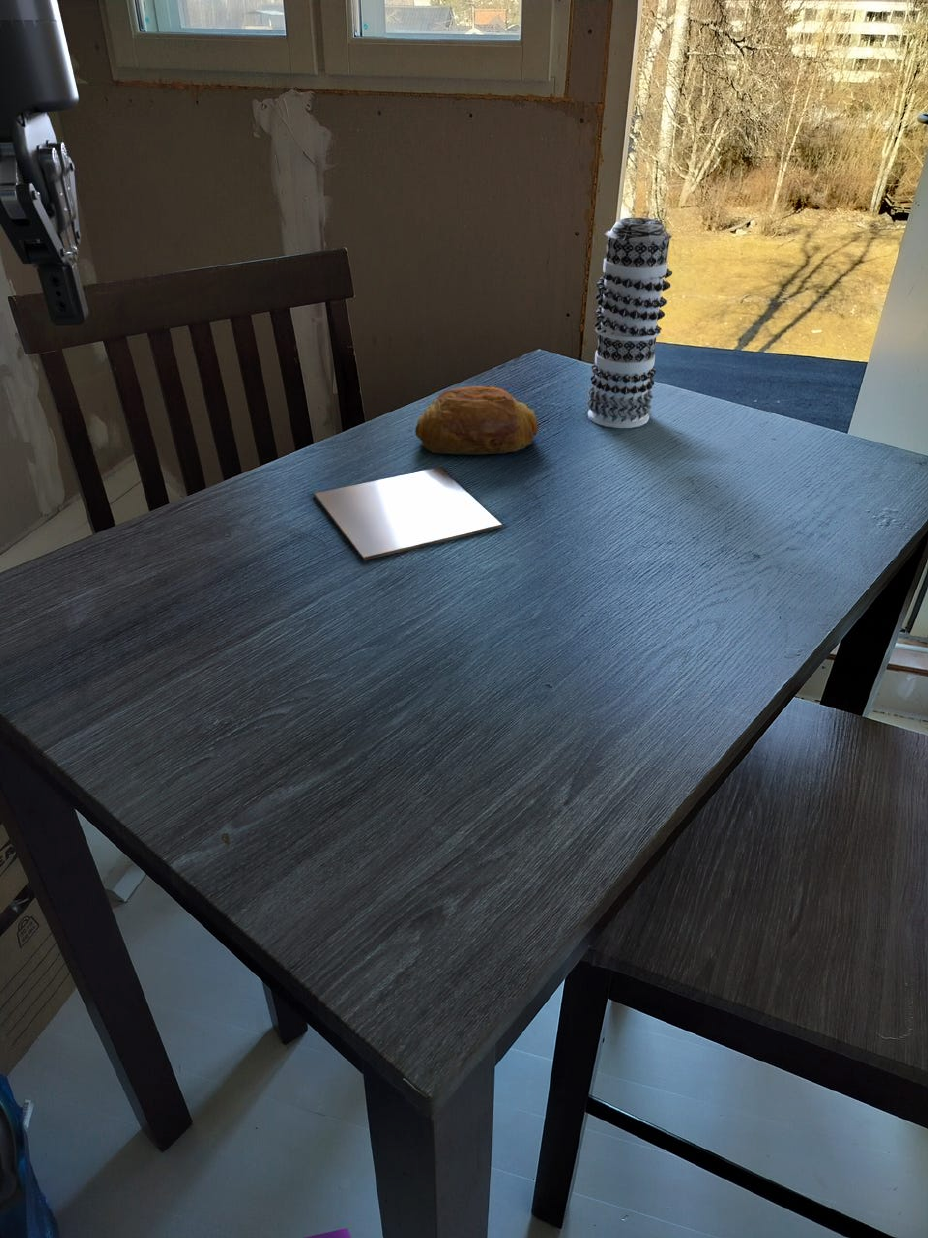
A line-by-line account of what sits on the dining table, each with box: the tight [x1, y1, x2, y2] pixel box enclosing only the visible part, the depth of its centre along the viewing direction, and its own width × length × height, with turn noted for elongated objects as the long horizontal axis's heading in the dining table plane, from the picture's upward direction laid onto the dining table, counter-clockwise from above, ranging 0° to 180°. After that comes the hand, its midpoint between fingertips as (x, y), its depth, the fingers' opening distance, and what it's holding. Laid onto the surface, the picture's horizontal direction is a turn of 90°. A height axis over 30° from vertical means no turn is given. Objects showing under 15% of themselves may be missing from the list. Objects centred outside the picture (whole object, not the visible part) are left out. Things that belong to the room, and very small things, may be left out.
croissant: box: [414, 384, 539, 455], centre depth 110 cm, size 14×16×8 cm
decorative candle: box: [587, 217, 673, 429], centre depth 111 cm, size 9×9×25 cm
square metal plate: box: [313, 466, 503, 562], centre depth 95 cm, size 16×16×1 cm
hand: (71, 321), depth 59 cm, fingers closed
